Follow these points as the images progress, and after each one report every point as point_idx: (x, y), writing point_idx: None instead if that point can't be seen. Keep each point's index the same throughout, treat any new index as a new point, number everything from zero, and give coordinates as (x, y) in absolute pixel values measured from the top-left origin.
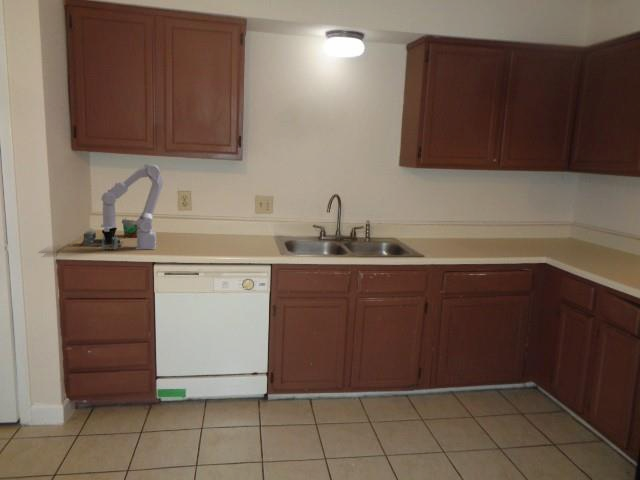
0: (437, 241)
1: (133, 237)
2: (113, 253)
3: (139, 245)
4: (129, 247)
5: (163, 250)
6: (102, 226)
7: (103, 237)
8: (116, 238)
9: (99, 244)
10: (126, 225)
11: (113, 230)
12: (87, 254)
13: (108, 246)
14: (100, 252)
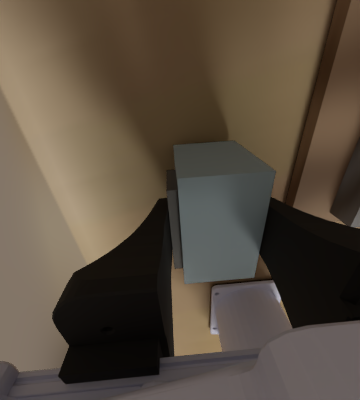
0: None
1: None
2: (106, 224)
3: (224, 310)
4: (260, 255)
5: (199, 346)
6: (254, 374)
7: (249, 174)
8: (209, 279)
9: (338, 73)
10: None
11: (302, 323)
12: (5, 58)
13: (299, 149)
14: (111, 145)
